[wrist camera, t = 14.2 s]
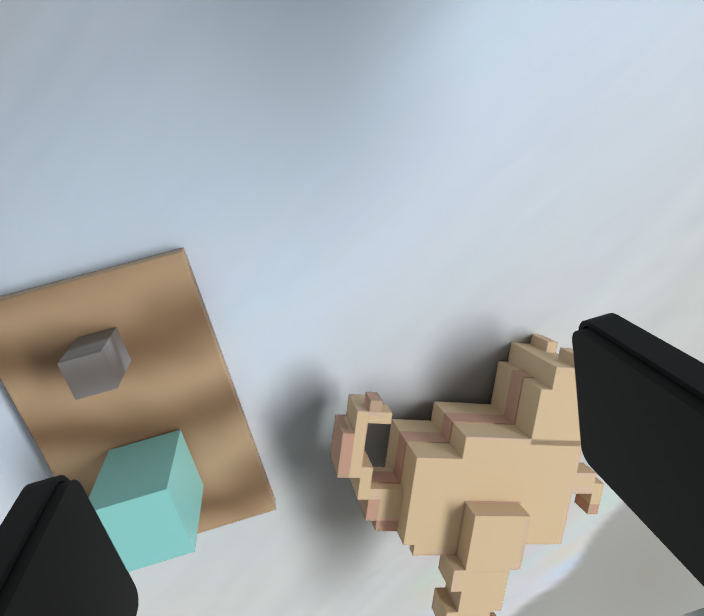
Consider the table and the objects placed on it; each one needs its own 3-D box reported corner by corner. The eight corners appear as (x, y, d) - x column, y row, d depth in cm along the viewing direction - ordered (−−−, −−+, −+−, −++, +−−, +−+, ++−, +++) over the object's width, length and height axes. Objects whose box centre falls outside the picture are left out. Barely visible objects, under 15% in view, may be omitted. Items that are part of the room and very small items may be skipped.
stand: (-28, 304, 35) (-73, 335, 30) (183, 247, 36) (172, 268, 31) (106, 551, 43) (87, 606, 38) (275, 499, 44) (277, 547, 39)
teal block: (109, 450, 38) (81, 514, 32) (180, 429, 39) (166, 489, 33) (136, 505, 40) (114, 575, 34) (203, 485, 41) (194, 551, 35)
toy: (588, 626, 40) (648, 368, 36) (327, 638, 36) (366, 347, 32) (522, 544, 49) (565, 332, 45) (310, 545, 45) (339, 313, 41)
